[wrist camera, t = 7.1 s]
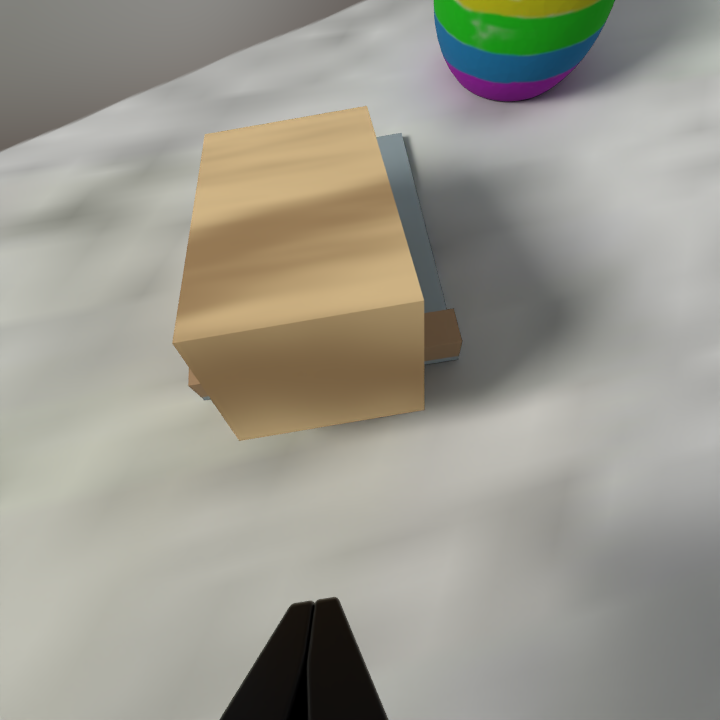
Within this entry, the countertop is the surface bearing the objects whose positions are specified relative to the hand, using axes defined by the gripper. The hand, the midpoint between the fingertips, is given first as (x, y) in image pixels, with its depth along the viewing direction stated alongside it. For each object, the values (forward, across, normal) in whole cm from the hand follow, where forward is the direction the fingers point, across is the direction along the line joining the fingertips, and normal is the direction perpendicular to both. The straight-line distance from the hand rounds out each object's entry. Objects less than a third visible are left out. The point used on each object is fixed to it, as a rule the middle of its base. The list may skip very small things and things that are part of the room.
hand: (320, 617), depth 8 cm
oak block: (+6, 0, -2) cm, 6 cm away
